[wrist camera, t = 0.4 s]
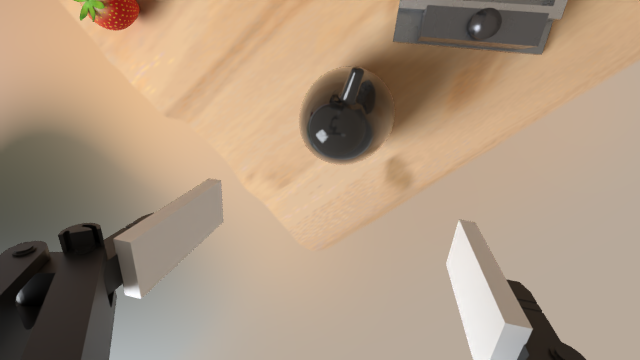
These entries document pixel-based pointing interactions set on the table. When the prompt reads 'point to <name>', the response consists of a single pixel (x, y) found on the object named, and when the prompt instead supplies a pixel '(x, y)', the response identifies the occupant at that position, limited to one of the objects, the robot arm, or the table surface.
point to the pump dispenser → (346, 115)
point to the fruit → (110, 12)
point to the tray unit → (478, 23)
